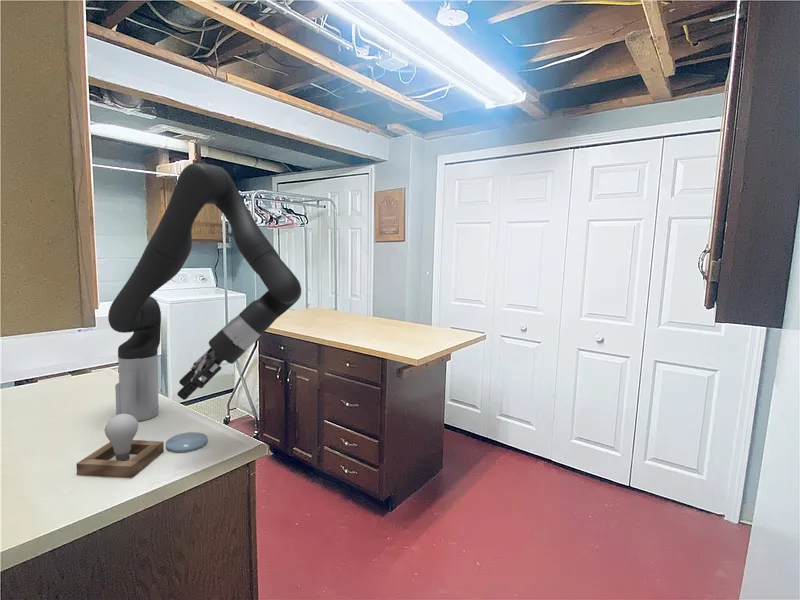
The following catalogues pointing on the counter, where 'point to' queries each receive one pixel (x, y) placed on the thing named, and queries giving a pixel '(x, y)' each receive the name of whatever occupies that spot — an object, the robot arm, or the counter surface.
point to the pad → (186, 442)
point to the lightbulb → (121, 434)
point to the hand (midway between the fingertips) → (181, 390)
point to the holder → (126, 469)
